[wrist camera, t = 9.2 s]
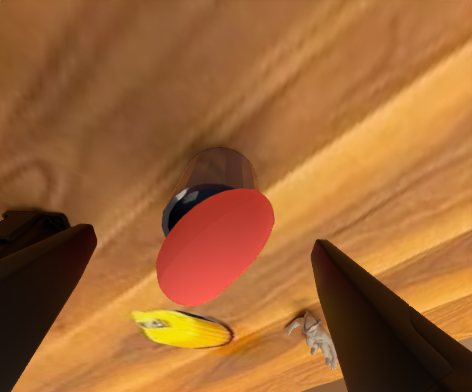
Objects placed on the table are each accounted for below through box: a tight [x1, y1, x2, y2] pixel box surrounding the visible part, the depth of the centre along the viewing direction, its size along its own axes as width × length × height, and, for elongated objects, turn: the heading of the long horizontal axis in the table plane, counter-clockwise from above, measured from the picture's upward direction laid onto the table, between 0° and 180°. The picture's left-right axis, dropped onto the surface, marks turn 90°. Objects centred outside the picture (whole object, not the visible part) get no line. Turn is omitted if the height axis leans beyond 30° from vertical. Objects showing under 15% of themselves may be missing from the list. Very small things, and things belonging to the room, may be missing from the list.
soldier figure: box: [286, 311, 337, 369], centre depth 33 cm, size 8×5×12 cm
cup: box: [162, 148, 259, 237], centre depth 19 cm, size 7×7×8 cm
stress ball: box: [156, 188, 274, 306], centre depth 14 cm, size 5×9×6 cm, turn 132°
